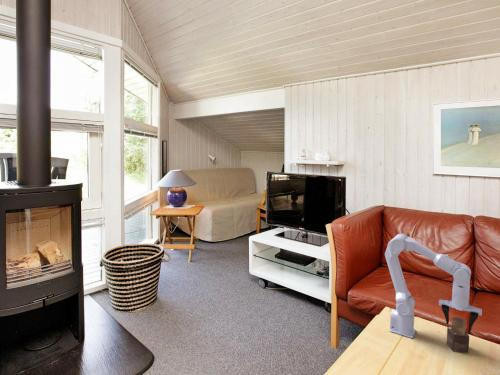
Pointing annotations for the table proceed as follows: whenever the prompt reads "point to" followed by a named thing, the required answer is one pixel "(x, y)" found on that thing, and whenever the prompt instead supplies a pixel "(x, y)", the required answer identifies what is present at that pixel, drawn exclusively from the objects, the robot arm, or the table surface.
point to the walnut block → (458, 325)
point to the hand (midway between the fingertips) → (458, 326)
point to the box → (457, 341)
